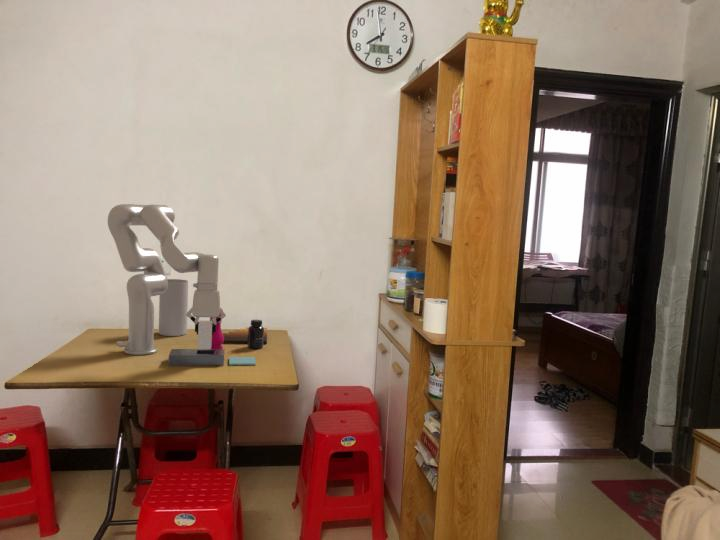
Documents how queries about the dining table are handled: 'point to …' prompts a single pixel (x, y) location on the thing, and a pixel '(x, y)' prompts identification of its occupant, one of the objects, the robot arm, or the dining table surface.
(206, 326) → the steel peg
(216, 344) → the pepper mill
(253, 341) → the supplement bottle
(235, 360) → the teal mat
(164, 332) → the cylinder vase
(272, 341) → the dining table surface
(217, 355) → the rail
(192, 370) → the dining table surface
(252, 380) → the dining table surface
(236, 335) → the pan flute
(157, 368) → the dining table surface
